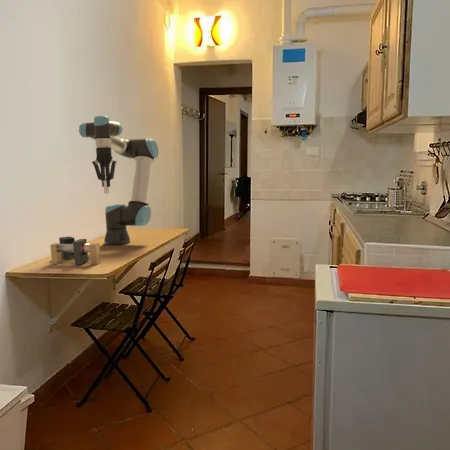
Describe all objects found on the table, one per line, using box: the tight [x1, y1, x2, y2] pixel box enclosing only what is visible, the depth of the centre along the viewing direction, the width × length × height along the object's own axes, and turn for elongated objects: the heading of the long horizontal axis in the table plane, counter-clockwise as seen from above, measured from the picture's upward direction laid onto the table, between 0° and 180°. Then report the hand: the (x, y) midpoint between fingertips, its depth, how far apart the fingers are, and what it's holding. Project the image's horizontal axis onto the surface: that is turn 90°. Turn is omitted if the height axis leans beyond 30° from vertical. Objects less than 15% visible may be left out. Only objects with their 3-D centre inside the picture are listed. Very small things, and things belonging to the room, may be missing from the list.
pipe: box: [50, 242, 102, 265], centre depth 225 cm, size 23×4×10 cm, turn 81°
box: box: [58, 236, 76, 260], centre depth 240 cm, size 8×6×11 cm
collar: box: [73, 238, 89, 265], centre depth 225 cm, size 3×8×11 cm, turn 170°
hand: (106, 193), depth 243 cm, fingers closed
